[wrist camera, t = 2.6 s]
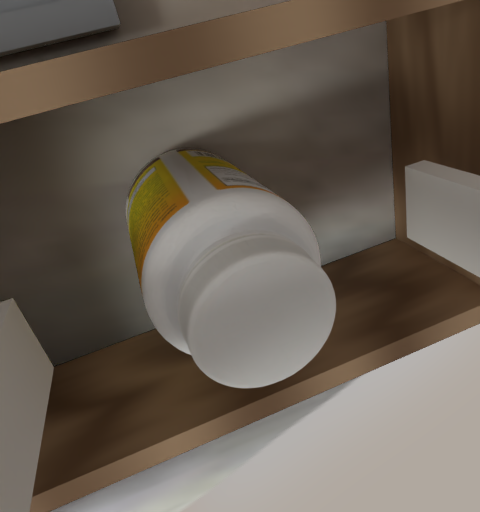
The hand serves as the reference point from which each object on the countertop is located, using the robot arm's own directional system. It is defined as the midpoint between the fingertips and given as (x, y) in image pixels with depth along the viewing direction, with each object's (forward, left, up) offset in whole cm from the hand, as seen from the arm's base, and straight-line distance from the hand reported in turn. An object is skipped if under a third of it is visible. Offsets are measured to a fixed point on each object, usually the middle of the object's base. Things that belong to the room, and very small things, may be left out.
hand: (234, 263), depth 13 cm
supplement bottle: (0, 0, -7) cm, 7 cm away
